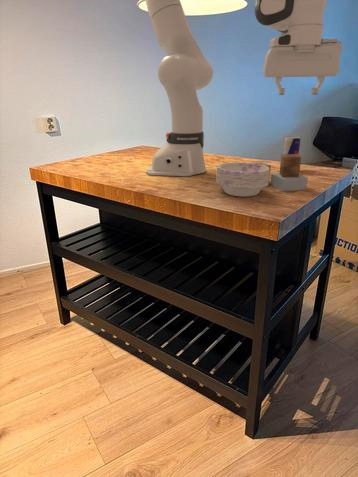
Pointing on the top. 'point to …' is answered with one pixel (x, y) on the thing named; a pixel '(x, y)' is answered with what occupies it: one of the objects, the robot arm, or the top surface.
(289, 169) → the walnut block
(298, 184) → the base block
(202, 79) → the robot arm
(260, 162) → the beech block
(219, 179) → the paper bowls
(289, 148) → the energy drink
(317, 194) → the top surface
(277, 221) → the top surface
